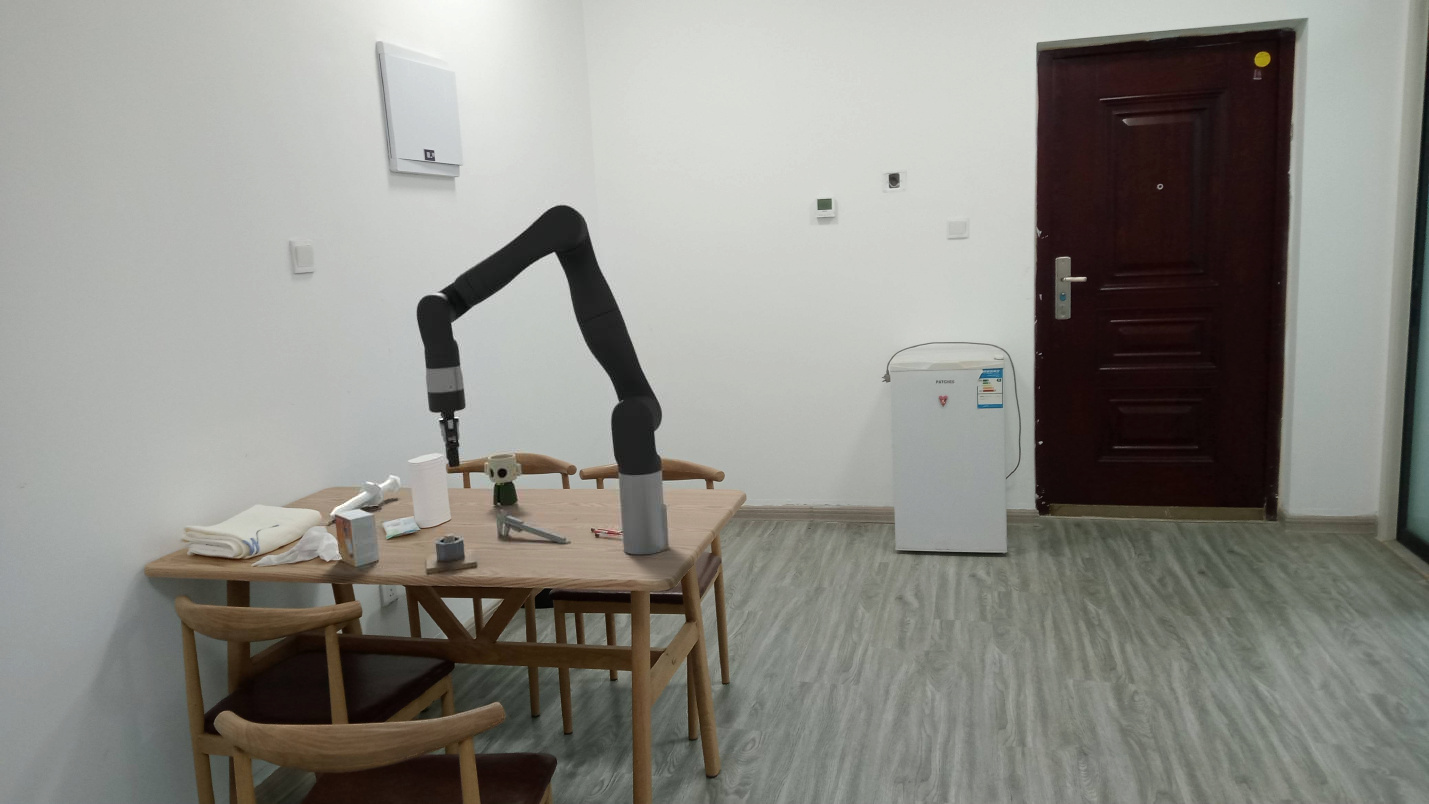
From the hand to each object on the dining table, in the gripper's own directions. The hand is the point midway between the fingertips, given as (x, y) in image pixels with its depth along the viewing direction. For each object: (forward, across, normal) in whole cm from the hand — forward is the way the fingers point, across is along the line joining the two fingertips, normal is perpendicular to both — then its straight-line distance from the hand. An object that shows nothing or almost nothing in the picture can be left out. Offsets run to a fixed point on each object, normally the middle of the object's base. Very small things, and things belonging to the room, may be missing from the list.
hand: (453, 463), depth 200 cm
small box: (+20, +7, +21) cm, 30 cm away
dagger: (+20, +54, +21) cm, 61 cm away
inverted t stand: (+20, -5, +3) cm, 21 cm away
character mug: (+21, +39, -14) cm, 46 cm away
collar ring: (+19, -4, +3) cm, 20 cm away
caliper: (+21, +5, -16) cm, 27 cm away
